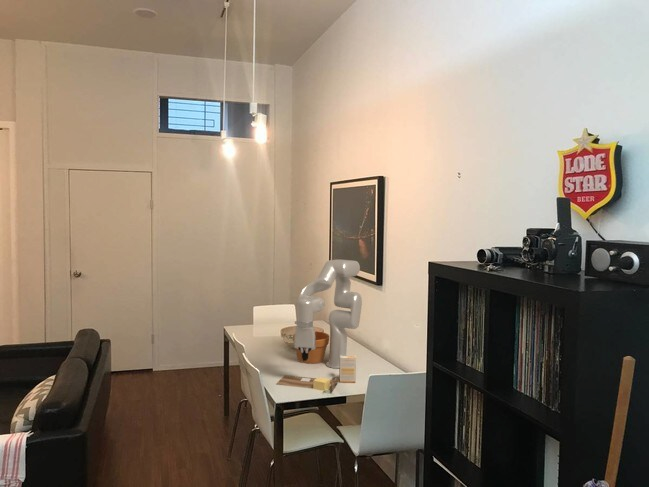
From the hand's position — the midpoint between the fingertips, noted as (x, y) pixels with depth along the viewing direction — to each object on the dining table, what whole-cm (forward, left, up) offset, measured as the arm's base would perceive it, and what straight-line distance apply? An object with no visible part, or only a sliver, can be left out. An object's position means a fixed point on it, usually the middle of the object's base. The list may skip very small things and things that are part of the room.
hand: (305, 359), depth 255 cm
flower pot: (-40, -7, -12) cm, 43 cm away
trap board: (+2, +2, -12) cm, 12 cm away
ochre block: (+7, +11, -11) cm, 17 cm away
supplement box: (-10, +20, -12) cm, 26 cm away
